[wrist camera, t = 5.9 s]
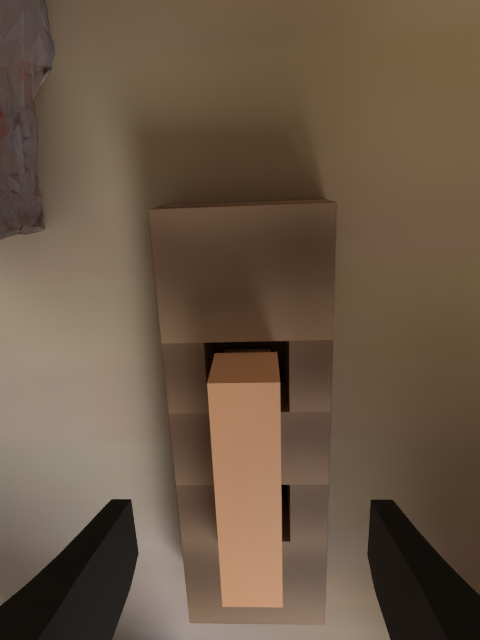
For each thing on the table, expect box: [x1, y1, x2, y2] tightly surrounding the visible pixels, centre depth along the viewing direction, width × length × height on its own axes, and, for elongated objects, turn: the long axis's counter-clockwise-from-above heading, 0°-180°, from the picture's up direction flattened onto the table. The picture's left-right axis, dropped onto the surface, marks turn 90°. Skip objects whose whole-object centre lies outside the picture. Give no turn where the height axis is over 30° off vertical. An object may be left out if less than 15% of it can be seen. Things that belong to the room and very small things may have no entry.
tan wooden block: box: [207, 349, 283, 608], centre depth 17 cm, size 9×2×5 cm, turn 2°
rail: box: [148, 199, 337, 625], centre depth 18 cm, size 18×6×2 cm, turn 2°
